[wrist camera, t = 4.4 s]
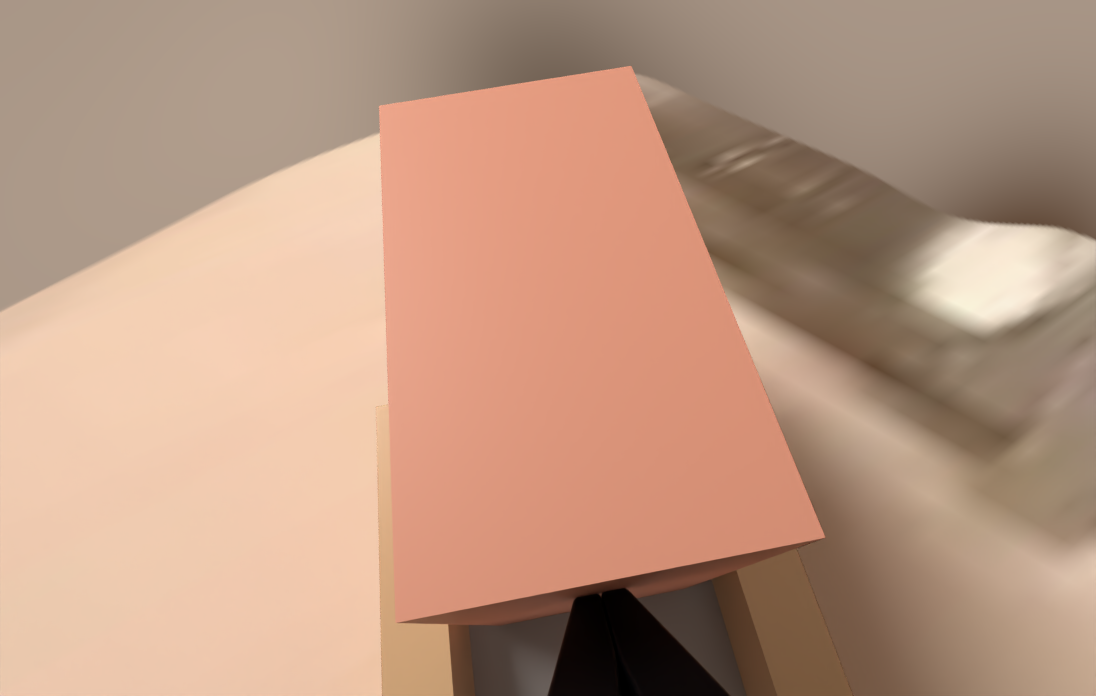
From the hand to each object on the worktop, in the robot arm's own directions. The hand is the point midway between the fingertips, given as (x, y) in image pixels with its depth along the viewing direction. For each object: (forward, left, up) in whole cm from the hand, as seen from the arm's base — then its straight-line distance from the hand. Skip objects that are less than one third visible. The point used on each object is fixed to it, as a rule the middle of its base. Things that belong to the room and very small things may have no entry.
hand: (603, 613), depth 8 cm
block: (+5, +1, -6) cm, 8 cm away
